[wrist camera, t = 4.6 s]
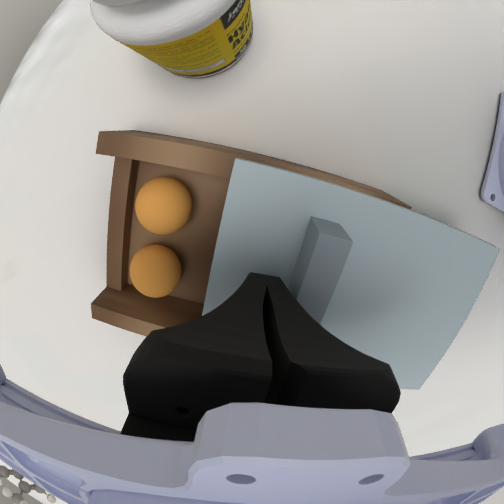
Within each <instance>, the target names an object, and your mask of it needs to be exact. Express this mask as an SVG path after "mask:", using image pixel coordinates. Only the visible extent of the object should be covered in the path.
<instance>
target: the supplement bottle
mask: <svg viewBox="0 0 504 504" xmlns="http://www.w3.org/2000/svg"><path fill="white" fill-rule="evenodd" d="M90 8H91V13H92V16H93V19H94V20H95V22H96V24H97V25H98V26H99V28H100V29H101V30H102V31H104V32H105V33H106V34H107V35H109V36H110V37H112V38H113V39H115V40H116V41H118V42H120V43H122V44H124V45H126V46H127V47H129V48H131V49H133V50H134V51H136V52H138V53H139V54H141V55H143V56H145V57H146V58H148V59H150V60H151V61H153V62H155V63H156V64H158V65H159V66H161V67H163V68H164V69H166V70H168V71H170V72H172V73H174V74H176V75H179V76H183V77H189V78H201V77H207V76H211V75H215V74H218V73H220V72H222V71H224V70H226V69H228V68H230V67H231V66H232V65H234V64H235V63H236V62H237V61H239V60H240V58H241V57H242V56H243V55H244V54H245V52H246V50H247V49H248V47H249V45H250V42H251V39H252V33H253V22H252V13H251V5H250V0H90Z"/></svg>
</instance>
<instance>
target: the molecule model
mask: <svg viewBox="0 0 504 504" xmlns="http://www.w3.org/2000/svg"><path fill="white" fill-rule="evenodd" d="M9 475H14V476H15V477H16V478H17V479H20V482H19V488H20V490H21V493H20V494H19V493H13V494H11V491H10V490H9V489H8V488H3V490H2V493H3V494H4V495H5V496H6V497H11V496H12V500H13V501H14V503H13V504H28V502H26V501H24V498H23V497H22V494H23V492H24V493H29V492H30V491H31V490H36V491H37V492H38V493H45V494H46V495H47V499H48V501H49V502H51V503H54V502H56V498H55V496H54V495H52V494H47V493H46V492H45V490H44V489H42V488H41V487H39V486H38V485H36V484H33V485H29V484H28V483H27V482H25V481H22V479H23V477H24V476H23V475H21V474H20V473H18V472H17V471H15V470H14V469H13V470H9V469H7V468H6V467H5V466H0V486H1V485H2V481H1V477H4V478H8V477H9ZM33 487H34V488H33Z"/></svg>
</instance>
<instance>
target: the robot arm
mask: <svg viewBox="0 0 504 504" xmlns="http://www.w3.org/2000/svg"><path fill="white" fill-rule="evenodd" d="M491 195H492V198H491ZM481 198H482V200H483V201H485V202H487V203H488V204H490V205H492V206H494V207H495V208H497V209H499V210H500V211H502V212H504V92H503V93H502V94H501V99H500V107H499V114H498V120H497V126H496V132H495V137H494V142H493V147H492V151H491V155H490V160H489V164H488V168H487V172H486V175H485V179H484V183H483V186H482V189H481ZM123 385H124V391H125V396H126V401H127V405H128V410H129V414H128V417H127V419H126V421H125V424H124V426H123V429H122V431H121V432H120V431H117V430H114V429H111V428H109V427H106V426H103V425H101V424H98V423H95V422H93V421H90V420H88V419H85V418H83V417H81V416H78V415H76V414H74V413H71V412H69V411H67V410H65V409H63V408H60V407H58V406H56V405H54V404H52V403H50V402H48V401H46V400H44V399H42V398H40V397H38V396H36V395H34V394H33V393H31V392H29V391H27V390H25V389H24V388H22V387H20V386H18V385H17V384H15V383H13V382H12V381H10V380H8V379H7V378H6V376H5V373H4V371H3V369H2V367H1V365H0V459H1V460H2V461H3V462H5V463H6V464H7V465H9V466H10V467H11V468H13V469H14V470H15V471H17V472H18V473H20V474H21V475H23V476H24V477H26V478H27V479H28V480H30V481H31V482H33V483H34V484H36V485H38V486H39V487H41V488H42V489H44V490H46V491H47V492H49V493H51V494H52V495H54V496H56V497H57V498H59V499H61V500H63V501H65V502H66V503H68V504H479V503H481V502H483V501H484V500H485V499H487V498H488V497H489V496H491V495H493V494H494V493H495V492H497V491H498V490H499V489H500V488H502V487H503V486H504V424H500V425H497V426H494V427H490V428H488V429H486V430H484V431H483V432H482V433H480V434H479V435H478V436H477V437H476V438H475V440H474V441H473V442H472V443H470V444H466V445H463V446H459V447H455V448H451V449H447V450H443V451H438V452H434V453H429V454H423V455H418V456H412V457H409V456H408V453H407V449H406V446H405V443H404V440H403V437H402V434H401V431H400V428H399V425H398V422H397V421H396V419H395V418H394V416H393V414H392V412H393V410H394V409H395V407H396V405H397V404H398V402H399V399H400V394H401V393H400V389H399V385H398V383H397V380H396V378H395V376H394V373H393V371H392V369H391V367H390V365H389V364H387V363H385V362H383V361H380V360H378V359H375V358H373V357H371V356H368V355H366V354H364V353H362V352H360V351H358V350H356V349H355V348H353V347H351V346H349V345H348V344H346V343H344V342H343V341H341V340H340V339H338V338H337V337H335V336H334V335H332V334H331V333H330V332H328V331H327V330H326V329H325V328H323V327H322V326H321V325H320V324H319V323H318V322H317V321H315V320H314V319H313V318H312V317H311V316H310V315H309V314H308V313H307V312H306V311H305V309H304V308H303V307H302V306H301V305H300V304H299V303H298V301H297V300H296V299H295V298H294V296H293V295H292V294H291V292H290V291H289V290H288V288H287V287H286V285H285V284H284V282H283V281H282V280H281V278H280V277H276V276H270V275H265V274H259V273H253V272H250V273H249V274H248V275H247V277H246V279H245V280H244V282H243V283H242V284H241V286H240V287H239V288H238V289H237V290H236V291H235V292H234V293H233V294H232V295H231V296H230V297H229V298H228V299H227V300H226V301H224V302H223V303H222V304H221V305H219V306H218V307H216V308H215V309H213V310H212V311H210V312H209V313H207V314H205V315H203V316H201V317H199V318H197V319H194V320H192V321H189V322H186V323H183V324H180V325H176V326H172V327H168V328H163V329H158V330H152V331H151V332H150V333H149V334H148V336H147V337H146V338H145V339H144V341H143V342H142V343H141V344H140V346H139V347H138V348H137V350H136V351H135V353H134V355H133V357H132V359H131V361H130V363H129V365H128V367H127V369H126V371H125V373H124V375H123Z"/></svg>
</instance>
